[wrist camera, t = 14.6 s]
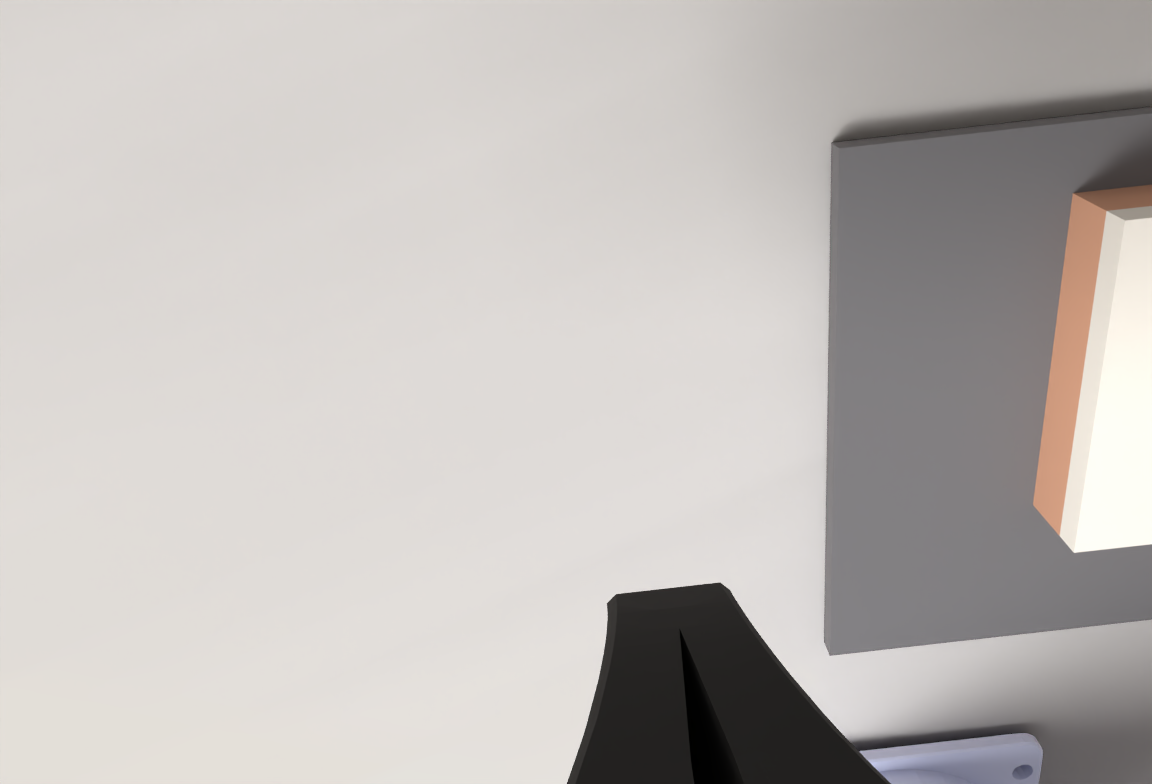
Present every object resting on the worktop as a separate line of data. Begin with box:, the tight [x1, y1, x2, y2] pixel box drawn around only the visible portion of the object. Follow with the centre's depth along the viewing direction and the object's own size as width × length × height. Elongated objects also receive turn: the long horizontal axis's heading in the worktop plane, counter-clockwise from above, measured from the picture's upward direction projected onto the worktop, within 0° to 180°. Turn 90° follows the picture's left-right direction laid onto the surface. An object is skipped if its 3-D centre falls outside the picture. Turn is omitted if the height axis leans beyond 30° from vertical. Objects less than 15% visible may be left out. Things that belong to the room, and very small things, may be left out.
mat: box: [824, 107, 1152, 656], centre depth 21 cm, size 12×12×1 cm
